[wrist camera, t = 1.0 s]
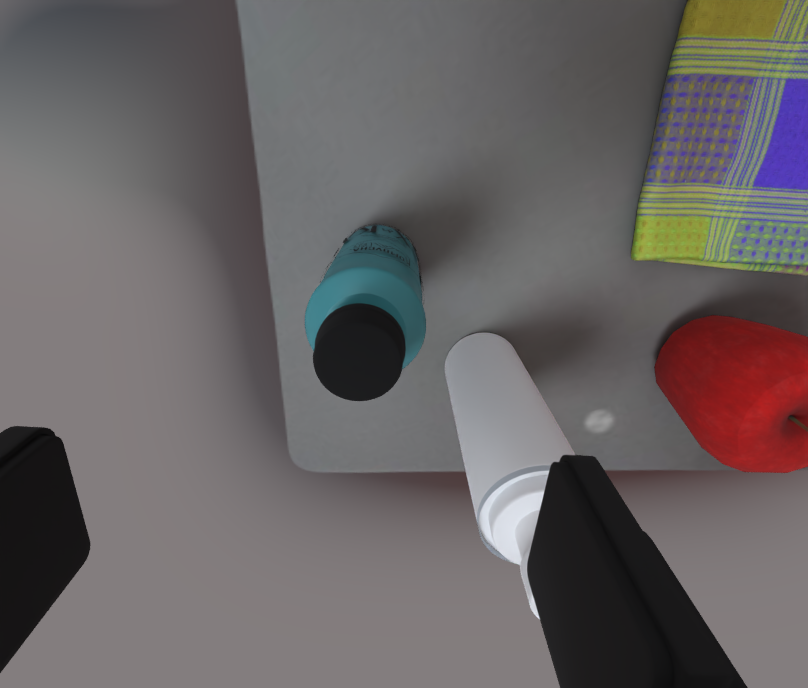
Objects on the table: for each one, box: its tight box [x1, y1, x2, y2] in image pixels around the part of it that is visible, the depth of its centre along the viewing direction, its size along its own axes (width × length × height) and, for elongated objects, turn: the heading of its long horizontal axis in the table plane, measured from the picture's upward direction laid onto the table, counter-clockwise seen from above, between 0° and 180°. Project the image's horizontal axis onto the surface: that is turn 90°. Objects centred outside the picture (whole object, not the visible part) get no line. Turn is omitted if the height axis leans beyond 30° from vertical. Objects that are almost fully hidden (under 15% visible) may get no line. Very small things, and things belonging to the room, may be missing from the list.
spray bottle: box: [445, 333, 575, 619], centre depth 30 cm, size 7×7×25 cm
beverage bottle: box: [305, 224, 426, 401], centre depth 28 cm, size 6×7×20 cm
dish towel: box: [631, 0, 808, 276], centre depth 32 cm, size 18×24×3 cm
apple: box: [655, 315, 808, 473], centre depth 35 cm, size 11×10×14 cm
